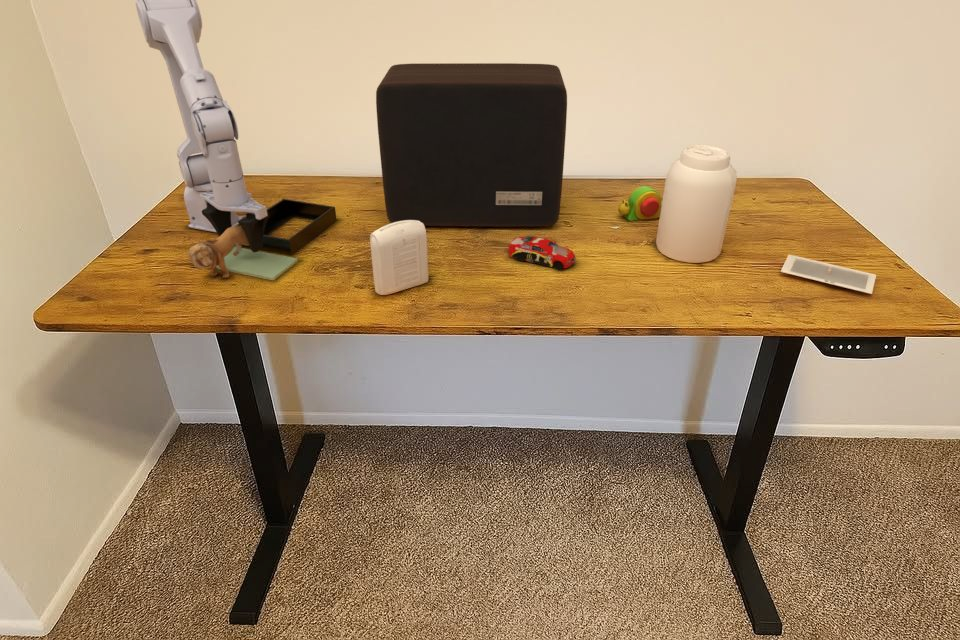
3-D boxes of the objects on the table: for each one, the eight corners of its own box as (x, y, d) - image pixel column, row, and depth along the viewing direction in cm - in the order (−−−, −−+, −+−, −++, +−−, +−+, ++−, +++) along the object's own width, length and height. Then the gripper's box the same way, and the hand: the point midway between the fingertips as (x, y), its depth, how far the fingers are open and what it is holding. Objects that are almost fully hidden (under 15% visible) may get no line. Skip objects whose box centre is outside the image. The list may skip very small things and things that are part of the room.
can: (642, 241, 131) (657, 144, 120) (693, 231, 135) (712, 136, 124) (680, 269, 122) (700, 167, 111) (734, 257, 126) (758, 157, 114)
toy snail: (610, 214, 142) (614, 186, 139) (687, 202, 147) (692, 175, 144) (624, 226, 137) (628, 197, 134) (703, 213, 142) (709, 185, 139)
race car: (579, 261, 125) (580, 242, 123) (569, 273, 121) (570, 254, 119) (516, 246, 130) (517, 228, 128) (504, 258, 126) (505, 239, 123)
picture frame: (237, 245, 131) (233, 230, 129) (286, 212, 144) (283, 198, 142) (291, 255, 127) (289, 240, 125) (337, 220, 140) (335, 206, 139)
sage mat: (194, 264, 124) (193, 261, 124) (222, 246, 131) (221, 243, 130) (273, 280, 119) (273, 277, 119) (298, 261, 125) (297, 258, 125)
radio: (553, 197, 150) (562, 61, 134) (559, 231, 136) (569, 82, 119) (398, 196, 151) (387, 61, 135) (386, 229, 137) (373, 82, 120)
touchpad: (787, 259, 125) (790, 249, 124) (874, 279, 118) (878, 269, 117) (779, 276, 119) (782, 266, 118) (869, 299, 113) (873, 288, 111)
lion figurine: (219, 293, 117) (200, 255, 110) (196, 287, 119) (176, 249, 112) (267, 243, 126) (251, 205, 119) (245, 238, 128) (229, 200, 121)
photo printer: (421, 272, 121) (417, 211, 114) (432, 282, 118) (429, 220, 111) (371, 288, 116) (363, 225, 110) (381, 299, 113) (375, 235, 107)
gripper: (273, 176, 115) (286, 245, 123) (215, 163, 121) (230, 229, 129) (243, 190, 110) (259, 261, 118) (184, 175, 116) (202, 243, 123)
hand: (242, 245), depth 123 cm, fingers open, 7 cm apart
